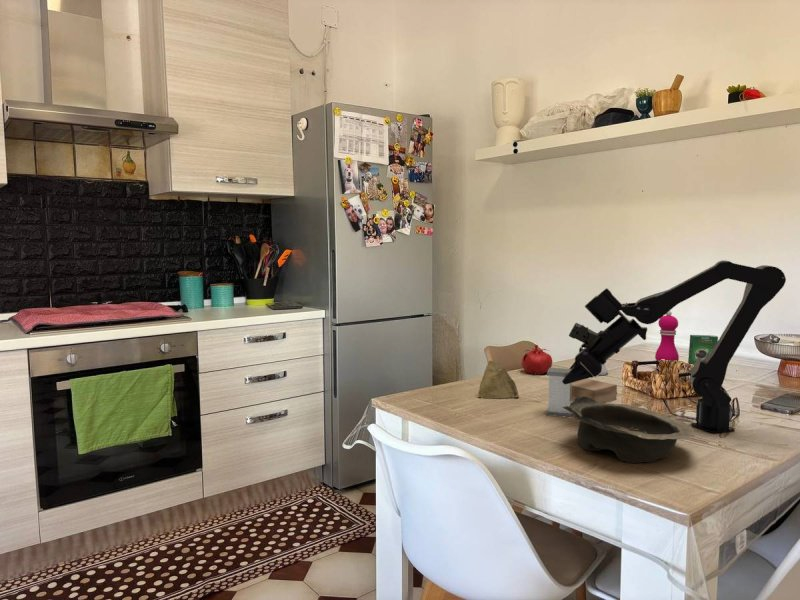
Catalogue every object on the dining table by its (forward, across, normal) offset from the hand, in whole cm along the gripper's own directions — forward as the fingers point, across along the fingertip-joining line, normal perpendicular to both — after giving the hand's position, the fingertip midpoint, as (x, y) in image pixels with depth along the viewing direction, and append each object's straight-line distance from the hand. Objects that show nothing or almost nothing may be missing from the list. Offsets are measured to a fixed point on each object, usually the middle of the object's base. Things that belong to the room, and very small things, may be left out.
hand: (565, 378), depth 147 cm
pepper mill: (-13, -65, +25) cm, 71 cm away
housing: (+7, 0, +6) cm, 9 cm away
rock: (+20, -11, -6) cm, 23 cm away
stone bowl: (-4, +22, +17) cm, 28 cm away
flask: (+3, -52, +10) cm, 53 cm away
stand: (+3, -18, +10) cm, 20 cm away
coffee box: (-20, -60, +32) cm, 71 cm away
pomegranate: (+16, -46, -3) cm, 49 cm away
